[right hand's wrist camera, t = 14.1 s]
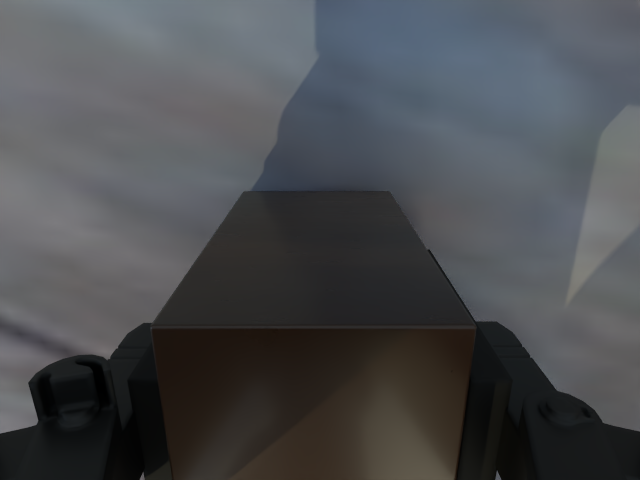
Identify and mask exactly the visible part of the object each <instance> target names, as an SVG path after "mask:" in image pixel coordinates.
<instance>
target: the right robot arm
mask: <svg viewBox="0 0 640 480" xmlns="http://www.w3.org/2000/svg"><path fill="white" fill-rule="evenodd" d="M428 252H429V253H430V255H431V257H432V258H433V260H434V261H435V263H436V264H437V266H438V267H439V269H440V270H441V272H442V274H443V275H444V277H445V278H446V280H447V281H448V283H449V284H450V286H451V288H452V289H453V291H454V292H455V294H456V295H457V297H458V298H459V300H460V301H461V303H462V305H463V306H464V308H465V309H466V311H467V312H468V314H469V315H470V317H471V318H472V320H473V322H474V323H475V325H476V335H475V342H474V350H473V357H472V365H471V372H470V380H469V387H468V395H467V402H466V409H465V417H464V424H463V432H462V439H461V447H460V454H459V462H458V469H457V477H456V480H495V478H496V472H497V471H498V473H499V475H500V477H501V479H502V480H640V432H639V431H634V430H630V429H625V428H620V427H616V426H612V425H608V424H605V423H603V422H602V420H601V419H600V417H599V416H598V414H597V413H596V412H595V410H594V409H592V408H591V407H590V406H589V405H587V404H586V403H585V402H583V401H582V400H580V399H577V398H575V397H573V396H571V395H569V394H566V393H562V392H559V391H557V390H556V389H555V388H554V386H553V385H552V384H551V382H550V381H549V380H548V378H547V377H546V376H545V374H544V373H543V372H542V370H541V369H540V368H539V367H538V365H537V364H536V363H535V361H534V360H533V359H532V358H530V355H529V353H528V352H527V351H526V349H525V348H524V347H522V344H521V343H520V341H519V340H518V339H517V338H516V336H515V335H514V334H513V332H511V331H510V330H508V329H507V328H505V327H504V326H502V325H501V324H499V323H498V322H475V320H474V318H473V317H472V315H471V314H470V312H469V311H468V309H467V307H466V306H465V304H464V303H463V301H462V300H461V298H460V297H459V295H458V293H457V292H456V290H455V289H454V287H453V286H452V284H451V282H450V281H449V279H448V278H447V276H446V275H445V273H444V271H443V270H442V268H441V267H440V265H439V264H438V262H437V261H436V259H435V257H434V256H433V254H432V253H431V251H430V250H428ZM151 324H152V323H143V324H141V325H140V326H138V327H137V328H135V329H134V330H133V331H131V332H130V333H128V334H127V335H126V337H125V338H124V339H123V341H122V342H121V343H120V345H119V346H118V349H116V350H115V351H114V353H113V354H112V355H111V357H110V359H108V361H107V360H106V359H105V358H104V357H101V356H96V355H77V356H73V357H69V358H65V359H62V360H59V361H57V362H55V363H52V364H50V365H48V366H46V367H45V368H43V369H42V370H40V371H39V372H38V373H36V374H35V375H34V377H33V378H32V379H31V380H30V381H29V383H28V384H29V387H30V391H31V395H32V398H33V402H34V406H35V409H36V413H37V417H38V420H39V421H38V423H37V425H35V426H32V427H28V428H24V429H19V430H15V431H10V432H6V433H1V434H0V480H139V479H140V477H141V475H142V473H143V472H144V478H145V480H172V474H171V467H170V461H169V454H168V447H167V440H166V433H165V426H164V420H163V413H162V406H161V399H160V392H159V386H158V379H157V372H156V365H155V358H154V352H153V345H152V338H151V331H150V327H151Z"/></svg>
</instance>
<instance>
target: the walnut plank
mask: <svg viewBox="0 0 640 480" xmlns="http://www.w3.org/2000/svg"><path fill="white" fill-rule="evenodd" d="M150 331H151V338H152V345H153V352H154V358H155V365H156V372H157V379H158V386H159V392H160V399H161V406H162V413H163V420H164V426H165V433H166V440H167V447H168V454H169V461H170V467H171V474H172V480H456V477H457V469H458V462H459V454H460V447H461V439H462V432H463V424H464V417H465V409H466V402H467V395H468V387H469V380H470V372H471V365H472V357H473V350H474V342H475V335H476V325H475V323H474V322H473V320H472V318H471V317H470V315H469V314H468V312H467V311H466V309H465V308H464V306H463V305H462V303H461V301H460V300H459V298H458V297H457V295H456V294H455V292H454V291H453V289H452V288H451V286H450V284H449V283H448V281H447V280H446V278H445V277H444V275H443V274H442V272H441V270H440V269H439V267H438V266H437V264H436V263H435V261H434V260H433V258H432V257H431V255H430V253H429V252H428V250H427V249H426V247H425V246H424V244H423V243H422V241H421V240H420V238H419V236H418V235H417V233H416V232H415V230H414V229H413V227H412V226H411V224H410V222H409V221H408V219H407V218H406V216H405V215H404V213H403V212H402V210H401V209H400V207H399V205H398V204H397V202H396V201H395V199H394V198H393V196H392V195H391V193H390V192H389V191H244V192H243V193H242V195H241V196H240V197H239V199H238V200H237V202H236V203H235V205H234V206H233V208H232V209H231V210H230V212H229V213H228V215H227V216H226V218H225V219H224V221H223V222H222V223H221V225H220V226H219V228H218V229H217V231H216V232H215V234H214V235H213V236H212V238H211V239H210V241H209V242H208V244H207V245H206V247H205V248H204V249H203V251H202V252H201V254H200V255H199V257H198V258H197V260H196V261H195V262H194V264H193V265H192V267H191V268H190V270H189V271H188V273H187V274H186V275H185V277H184V278H183V280H182V281H181V283H180V284H179V286H178V287H177V288H176V290H175V291H174V293H173V294H172V296H171V297H170V298H169V300H168V301H167V303H166V304H165V306H164V307H163V309H162V310H161V311H160V313H159V314H158V316H157V317H156V319H155V320H154V322H153V323H152V324H151V327H150Z"/></svg>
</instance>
